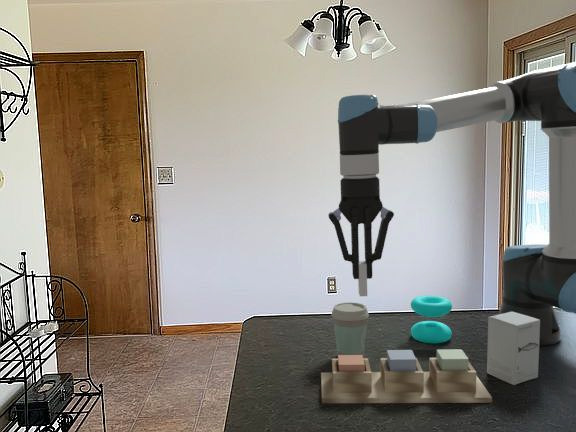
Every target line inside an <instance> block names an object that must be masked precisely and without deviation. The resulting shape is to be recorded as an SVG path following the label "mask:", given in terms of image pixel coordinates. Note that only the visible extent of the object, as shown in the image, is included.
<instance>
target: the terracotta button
mask: <svg viewBox="0 0 576 432" xmlns="http://www.w3.org/2000/svg"><path fill="white" fill-rule="evenodd" d="M363 358H364V354H363V355H338V354H337V359H338V372H355V371H365V364H364V360H363Z"/></svg>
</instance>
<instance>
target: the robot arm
mask: <svg viewBox="0 0 576 432" xmlns="http://www.w3.org/2000/svg"><path fill="white" fill-rule="evenodd" d="M337 110H338V111H337V114H338V115H337V124H338V139H339V174H340V175H341V176H343V177H342V178H341V179H340V201H339V203H338V208H336V209H335V210H334V211H331V212H329V213H328V219H329V221H331V224H333V225H334V229H335V232H336V237H337V240H338V243H339V247H340V250H341V254H342V257H343V259H344V261H346V262H350V263H351V267H352V277H353V279H354V280H357V281H358V283H357V284H358V286H357V287H358V295H359V297H368V280H370V279H372V278H373V263H374V262H376V261H379V260H381V259H382V255H383V252H384V248H385V243H386V238H387V233H388V228H389V224H390V222H391V221H392V219H393V217H394V215H395V213H394V211H392V210H390V209H388V208H387V207H384V206H383V201H382V200H381V197H380V196H381V193H380V192H381V191H380V190H381V189H380V188H381V187H380V178H379V177H378V176H377V175H379V174H380V159H379V157H380V156H379V154H380V150H379V145H381V146H382V145H398V144H400V145H403V144H404V145H405V144H420V143H428V142H431V141H432V140H433V139H434V138H435V136H436V134H437V133H438V132H439V133H440V132H445V131H449V130H453V129H460V128H463V127H469V126H474V125H478V124H483V123H489V122H493V121H495V123H499V124H504V123H505V124H506V123H510V122H523V121H524V122H526V121H527V122H537V121H538V122H540V128H541V129H540V131H542V132H543V133H545V135H546V136H547V137H548V208H549V209H548V216H549V217H548V221H549V222H548V223H549V224H548V226H549V227H548V228H549V229H548V230H549V234H548V236H549V241H548V244H520V245H512V246H510V245H509V246H508V247H506V248H505V249H504V251H503V257H502V258H503V259H502V304H501V306H500V309H499V312H498V314H497V315H499V314H503V313H508V312H516V313H519V314H523V315H526V316H530V317H533V318H536V319H539V320H540V338H539V347H540V346H550V345H551V346H552V345H554V344H557V343H558V342H560V341H561V329H560V326H559V322H558V319H557V316H556V312H555V309H554V308H557V309H560V310H562V311H564V312H566V313H571V314H575V315H576V61H573V62H567V63H566V64H560V65H556V66H551V67H546V68H541V69H536V70H532V71H531V72H526V73H524V74H521V75H518V76H515V77H512V78H509V79H506V80H505V79H504V80H500V81H496V82H494V83H492V84H491V85H490V86H489V87H488V88H486V87H485V88H482V89H476V90H471V91H466V92H461V93H455V94H451V95H446V96H442V97H441V96H440V97H434V98H429V99H425V100H424V99H423V100H420V101H413V102H409V103H404V104H397V105H396V104H395V105H381V104H379V102H378V97H377V96H376V95H375V94H354V95H352V94H351V95H346V96H343V97H341V98H340V99H339V102H338V108H337ZM341 214H342V215H343V216H344V218H345V219H346V220H347V222H348V223H349V224H350V234H351V235H350V236H351V253H349V249H348V246H347V243H346V240H345V236H344V233H343V229H342V226H341V223H340V222H341V219H342V216H341ZM379 214H380V218H381V220H380V224H379V225H380V226H379V229H378V234H377V239H376V244H375V248H374V252H373V238H372V237H373V236H372V228H373V227H372V225H373V224H372V223H373V222H374V221H375V219H376V218H377V216H378V215H379ZM361 224H363V235H364V236H363V237H364V242H363V243H364V259H365V260H360V252H359V251H360V247H359V246H360V245H359V243H360V242H359V225H361Z"/></svg>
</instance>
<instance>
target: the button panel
mask: <svg viewBox="0 0 576 432" xmlns="http://www.w3.org/2000/svg"><path fill="white" fill-rule="evenodd" d="M415 358H416V371H388V368H387V357H380V359H379V360H380V362H379V363H380V371H372V370H371V366H370V363H369V362H370V361H369V358H368V357H367V358H364V357H363V360H364V364H365V371H355V372H338V358H331V368H332V369H331V372H330V371H329V372H320V377H321V378H320V379H321V381H320V383H321V384H320V387H321V404H423V403H424V404H432V403H433V404H440V403H441V404H444V403H445V404H449V403H450V404H451V403H452V404H455V403H456V404H457V403H463V404H464V403H466V404H469V403H471V404H473V403H474V404H475V403H477V404H478V403H484V404H485V403H487V404H489V403H493V396H492V395H491V394H490V393H489V391H488V390H487V388H486V387H485V385H484V384H483V383H482V381H481V380H480V378H479V377H478V374H477V371H476V370H475V368H474V367H473V366H472V364H471V363H470V362H469V360H468V371H440V369H439V367H438V365H437V357H429V358H428V362H429V363H428V364H429V365H428V369H429V370H428V371H423V368H422V366H421V364H420V362H419V360H418V357H415Z"/></svg>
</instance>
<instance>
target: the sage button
mask: <svg viewBox="0 0 576 432" xmlns="http://www.w3.org/2000/svg"><path fill="white" fill-rule="evenodd" d="M436 358H437V365H438V367H439V369H440V371H468V361H469V359H470V358H469V357H468V356H467V355H466V353H465V352H464V350H462V349H460V348H459V349H453V348H451V349H449V348H448V349H447V348H446V349H436Z"/></svg>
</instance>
